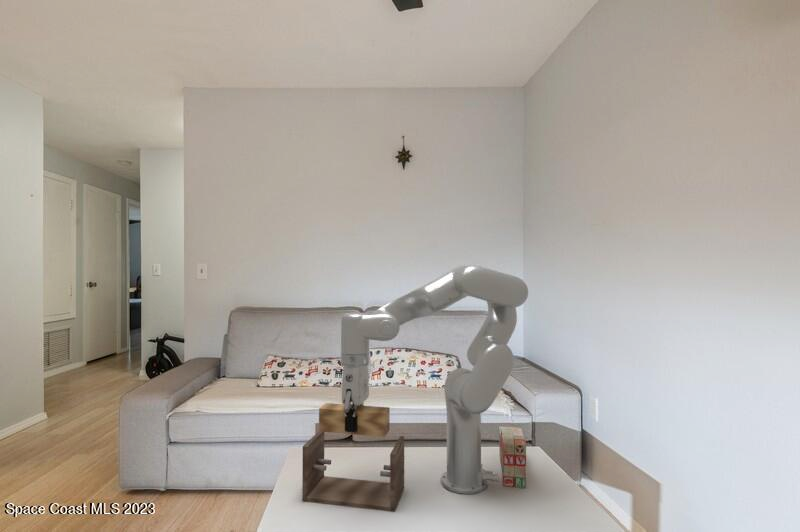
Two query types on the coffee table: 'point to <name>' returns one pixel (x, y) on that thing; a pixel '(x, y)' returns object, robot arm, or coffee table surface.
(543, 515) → the coffee table surface
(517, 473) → the stack of blocks
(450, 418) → the robot arm
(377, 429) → the shelf board
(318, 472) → the shelf frame
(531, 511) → the coffee table surface
